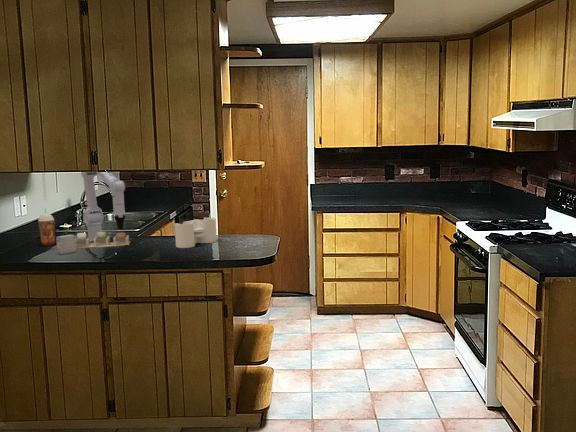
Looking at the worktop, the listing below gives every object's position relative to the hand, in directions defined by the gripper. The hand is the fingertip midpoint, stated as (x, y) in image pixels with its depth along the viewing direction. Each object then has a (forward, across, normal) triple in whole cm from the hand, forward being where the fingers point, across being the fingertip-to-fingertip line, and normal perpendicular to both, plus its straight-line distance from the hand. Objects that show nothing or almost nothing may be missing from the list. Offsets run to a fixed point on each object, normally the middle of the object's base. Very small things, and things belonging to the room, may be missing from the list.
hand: (120, 229), depth 326 cm
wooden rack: (+8, -2, -10) cm, 13 cm away
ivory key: (+5, -3, -20) cm, 20 cm away
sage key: (+5, -2, -10) cm, 11 cm away
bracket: (+8, +20, +37) cm, 43 cm away
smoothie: (+8, -21, -37) cm, 43 cm away
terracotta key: (+6, 0, 0) cm, 6 cm away
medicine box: (+8, +11, -27) cm, 31 cm away
